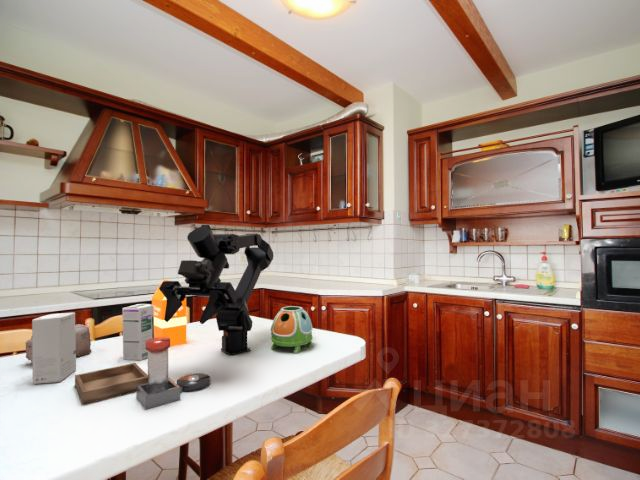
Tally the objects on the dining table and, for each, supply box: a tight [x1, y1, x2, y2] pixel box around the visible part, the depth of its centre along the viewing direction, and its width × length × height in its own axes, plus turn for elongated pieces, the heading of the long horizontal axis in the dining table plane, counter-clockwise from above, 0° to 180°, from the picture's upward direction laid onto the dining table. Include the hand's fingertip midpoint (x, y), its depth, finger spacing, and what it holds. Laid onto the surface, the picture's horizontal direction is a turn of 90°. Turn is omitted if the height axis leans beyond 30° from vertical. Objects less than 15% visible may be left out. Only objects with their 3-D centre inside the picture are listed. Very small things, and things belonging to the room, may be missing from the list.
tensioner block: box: [135, 372, 211, 410], centre depth 75 cm, size 15×9×2 cm, turn 131°
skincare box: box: [31, 312, 77, 385], centre depth 84 cm, size 8×6×15 cm
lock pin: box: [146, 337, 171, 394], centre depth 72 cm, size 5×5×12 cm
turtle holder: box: [270, 305, 314, 354], centre depth 110 cm, size 12×18×12 cm
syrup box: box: [121, 303, 154, 361], centre depth 99 cm, size 6×6×14 cm
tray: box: [74, 362, 148, 406], centre depth 78 cm, size 12×12×2 cm
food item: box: [25, 324, 92, 363], centre depth 98 cm, size 14×8×10 cm, turn 155°
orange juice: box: [151, 279, 187, 348], centre depth 113 cm, size 8×9×20 cm
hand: (183, 321), depth 80 cm, fingers open, 9 cm apart
